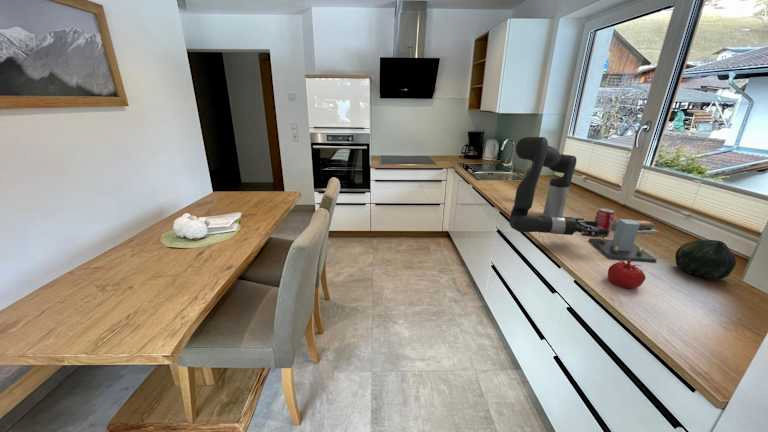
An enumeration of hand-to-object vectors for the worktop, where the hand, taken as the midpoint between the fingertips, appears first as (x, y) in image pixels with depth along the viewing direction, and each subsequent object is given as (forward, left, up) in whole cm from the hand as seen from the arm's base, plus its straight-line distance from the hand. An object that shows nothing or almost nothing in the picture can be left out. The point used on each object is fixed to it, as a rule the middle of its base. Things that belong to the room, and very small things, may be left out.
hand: (602, 228), depth 127 cm
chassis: (+9, +3, -10) cm, 13 cm away
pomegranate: (+7, -27, -10) cm, 29 cm away
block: (+9, +3, -8) cm, 13 cm away
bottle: (-33, +52, -10) cm, 63 cm away
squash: (+32, -4, -10) cm, 33 cm away
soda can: (+3, +20, -10) cm, 23 cm away
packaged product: (+17, +35, -10) cm, 40 cm away
